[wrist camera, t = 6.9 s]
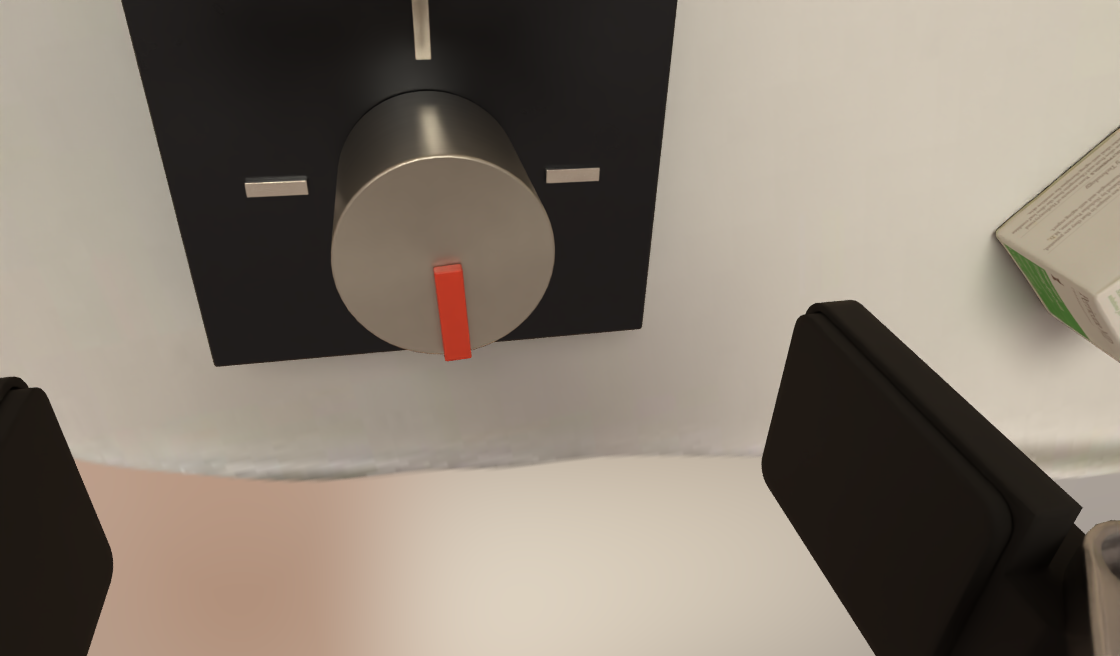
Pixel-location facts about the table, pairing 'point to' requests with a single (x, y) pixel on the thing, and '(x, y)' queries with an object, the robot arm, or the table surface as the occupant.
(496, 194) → the dial
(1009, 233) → the small box
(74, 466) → the robot arm
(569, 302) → the dial panel
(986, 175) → the table surface
